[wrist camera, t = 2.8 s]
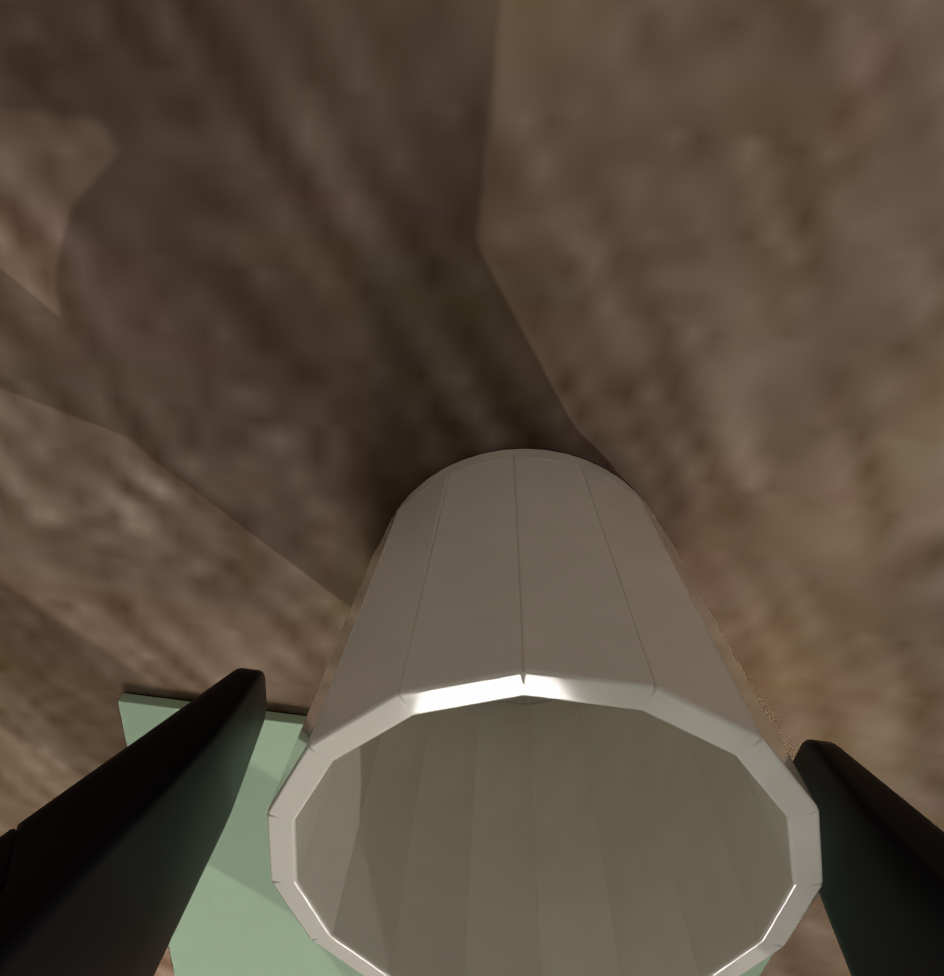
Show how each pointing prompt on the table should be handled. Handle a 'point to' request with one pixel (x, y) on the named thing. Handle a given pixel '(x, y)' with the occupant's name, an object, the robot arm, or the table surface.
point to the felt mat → (245, 871)
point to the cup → (539, 750)
